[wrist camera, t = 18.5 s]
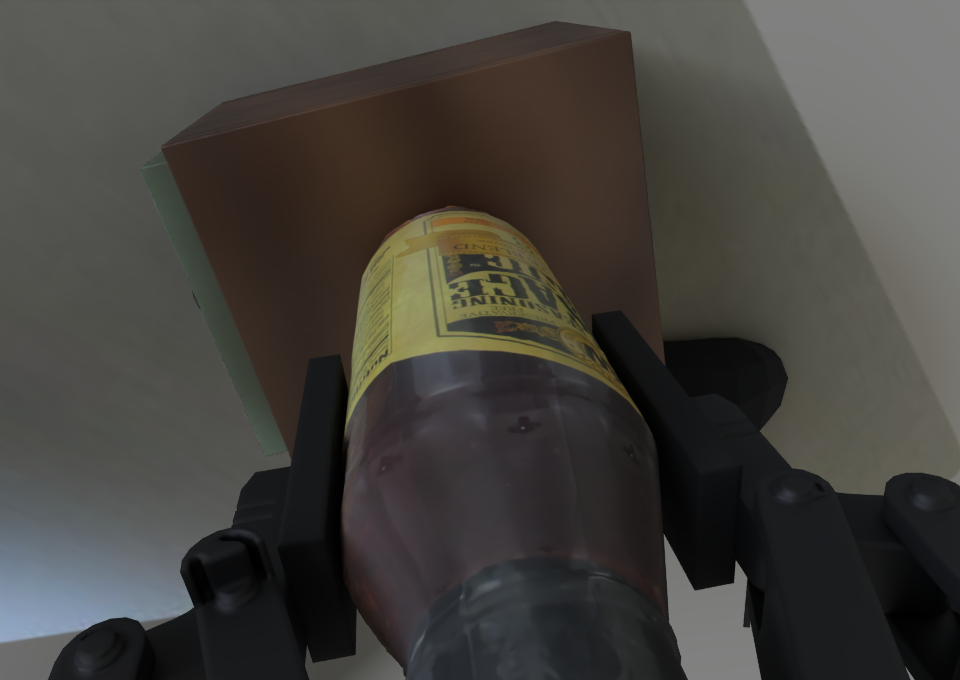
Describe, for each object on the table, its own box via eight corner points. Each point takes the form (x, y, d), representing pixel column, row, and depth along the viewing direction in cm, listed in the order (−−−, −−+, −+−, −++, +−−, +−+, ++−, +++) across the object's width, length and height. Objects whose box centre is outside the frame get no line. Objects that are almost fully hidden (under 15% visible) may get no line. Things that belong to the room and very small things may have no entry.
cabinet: (315, 359, 36) (297, 476, 27) (221, 102, 30) (159, 146, 21) (596, 287, 36) (667, 380, 27) (556, 20, 30) (631, 30, 22)
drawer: (263, 369, 35) (235, 465, 28) (165, 134, 29) (101, 177, 22) (553, 295, 35) (599, 370, 28) (509, 49, 30) (552, 66, 23)
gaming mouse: (526, 338, 37) (543, 374, 33) (788, 333, 39) (830, 367, 35) (517, 439, 40) (532, 482, 36) (763, 429, 42) (799, 469, 38)
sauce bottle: (576, 276, 25) (1116, 993, 7) (455, 397, 26) (646, 1249, 8) (437, 147, 22) (736, 773, 4) (311, 290, 23) (145, 1199, 6)
